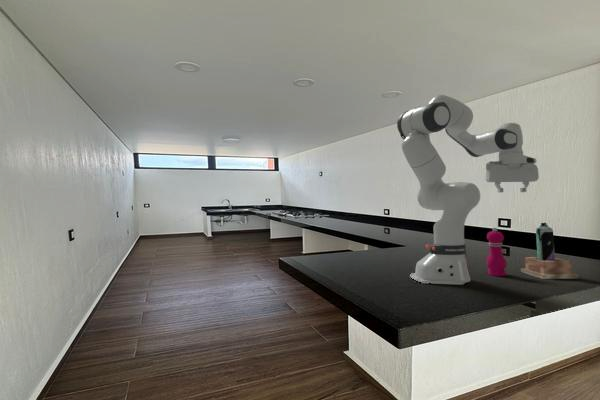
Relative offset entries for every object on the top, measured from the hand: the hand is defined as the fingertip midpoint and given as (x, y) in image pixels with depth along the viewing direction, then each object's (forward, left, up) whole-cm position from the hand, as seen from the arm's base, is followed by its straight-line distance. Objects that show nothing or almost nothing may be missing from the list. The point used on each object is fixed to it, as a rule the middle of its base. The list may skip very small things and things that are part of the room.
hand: (512, 192), depth 128 cm
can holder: (+9, -6, -35) cm, 36 cm away
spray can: (+9, -5, -34) cm, 35 cm away
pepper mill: (-10, -4, -35) cm, 37 cm away
